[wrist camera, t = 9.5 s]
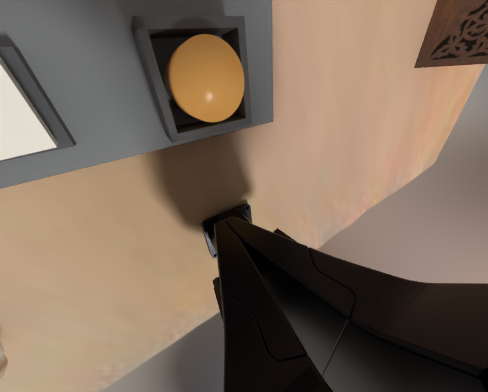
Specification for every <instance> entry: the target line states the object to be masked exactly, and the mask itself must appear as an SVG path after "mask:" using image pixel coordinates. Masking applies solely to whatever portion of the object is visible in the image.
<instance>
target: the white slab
mask: <svg viewBox="0 0 488 392" xmlns="http://www.w3.org/2000/svg"><path fill="white" fill-rule="evenodd" d="M57 146H58V142H57V141H56V139H55V138H54V136H53V135H52V133H51V132H50V130H49V129H48V127H47V126H46V124H45V123H44V121H43V120H42V118H41V117H40V115H39V114H38V112H37V111H36V109H35V108H34V106H33V105H32V103H31V102H30V100H29V99H28V97H27V96H26V94H25V93H24V91H23V90H22V88H21V87H20V85H19V84H18V82H17V81H16V79H15V78H14V76H13V75H12V73H11V72H10V70H9V69H8V67H7V66H6V64H5V63H4V61H3V60H2V58H1V57H0V160H4V159H8V158H13V157H17V156H21V155H26V154H30V153H34V152H39V151H43V150H47V149H52V148H56V147H57Z"/></svg>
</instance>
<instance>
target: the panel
mask: <svg viewBox="0 0 488 392" xmlns="http://www.w3.org/2000/svg"><path fill="white" fill-rule="evenodd" d="M200 34H210V35H214V36H217V37H219V38H221V39H222V40H224V41H225V42H227V43H228V44H229V45H230V46H231V47H232V49H233V50H234V51H235V53H236V54H237V56H238V58H239V60H240V62H241V65H242V68H243V73H244V93H243V97H242V100H241V103H240V105H239V106H238V108H237V109H236V111H235V112H234V113H233V114H232V115H231V116H230V117H228V118H227V119H225V120H223V121H219V122H206V121H202V120H200V119H198V118H195V117H193V116H191V115H189V114H187V113H185V112H183V111H182V110H180V109H179V108H178V107H177V106H176V105H175V104H174V103H173V101H172V100H171V98H170V97H169V95H168V92H167V90H166V86H165V82H164V68H165V64H166V61H167V59H168V57H169V55H170V54H171V53H172V51H173V50H175V49H176V48H177V47H179V46H180V45H181V44H183V43H184V42H185V41H187V40H188V39H190V38H192V37H193V36H196V35H200ZM0 57H1V58H2V60H3V61H4V63H5V64H6V66H7V67H8V69H9V70H10V72H11V73H12V75H13V76H14V78H15V79H16V81H17V82H18V84H19V85H20V87H21V88H22V90H23V91H24V93H25V94H26V96H27V97H28V99H29V100H30V102H31V103H32V105H33V106H34V108H35V109H36V111H37V112H38V114H39V115H40V117H41V118H42V120H43V121H44V123H45V124H46V126H47V127H48V129H49V130H50V132H51V133H52V135H53V136H54V138H55V139H56V141H57V142H58V146H57V147H56V148H52V149H47V150H43V151H39V152H34V153H30V154H26V155H21V156H17V157H13V158H8V159H4V160H0V189H1V188H5V187H9V186H13V185H17V184H21V183H26V182H30V181H34V180H38V179H42V178H46V177H50V176H54V175H58V174H62V173H66V172H70V171H74V170H78V169H82V168H86V167H90V166H94V165H99V164H103V163H107V162H111V161H115V160H119V159H123V158H127V157H131V156H135V155H139V154H143V153H147V152H151V151H155V150H159V149H163V148H168V147H172V146H176V145H180V144H184V143H188V142H192V141H196V140H200V139H204V138H208V137H212V136H216V135H220V134H224V133H228V132H232V131H237V130H241V129H245V128H249V127H253V126H257V125H261V124H265V123H269V122H273V48H272V0H0Z"/></svg>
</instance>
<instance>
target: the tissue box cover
mask: <svg viewBox="0 0 488 392" xmlns="http://www.w3.org/2000/svg"><path fill="white" fill-rule="evenodd" d="M471 64H488V0H438V1H437V3H436V6H435V9H434V12H433V15H432V18H431V21H430V24H429V27H428V29H427V32H426V35H425V38H424V41H423V44H422V47H421V50H420V52H419V55H418V58H417V61H416V64H415V67H414V68H422V67H438V66H455V65H471Z"/></svg>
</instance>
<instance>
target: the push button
mask: <svg viewBox="0 0 488 392" xmlns="http://www.w3.org/2000/svg"><path fill="white" fill-rule="evenodd" d="M164 82H165V86H166V90H167V92H168V95H169V97H170V98H171V100H172V101H173V103H174V104H175V105H176V106H177V107H178V108H179V109H180V110H182V111H183V112H185V113H187V114H189V115H191V116H193V117H195V118H198V119H200V120H202V121H206V122H219V121H223V120H225V119H227V118H228V117H230V116H231V115H232V114H233V113H234V112H235V111H236V109H237V108H238V106H239V105H240V103H241V100H242V97H243V93H244V73H243V68H242V65H241V62H240V60H239V58H238V56H237V54H236V53H235V51H234V50H233V49H232V47H231V46H230V45H229V44H228V43H227V42H225V41H224V40H222V39H221V38H219V37H217V36H214V35H210V34H200V35H196V36H193V37H192V38H190V39H188V40H187V41H185V42H184V43H183V44H181V45H180V46H179V47H177V48H176V49H175V50H173V51H172V53H171V54H170V55H169V57H168V59H167V61H166V64H165V68H164Z"/></svg>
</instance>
